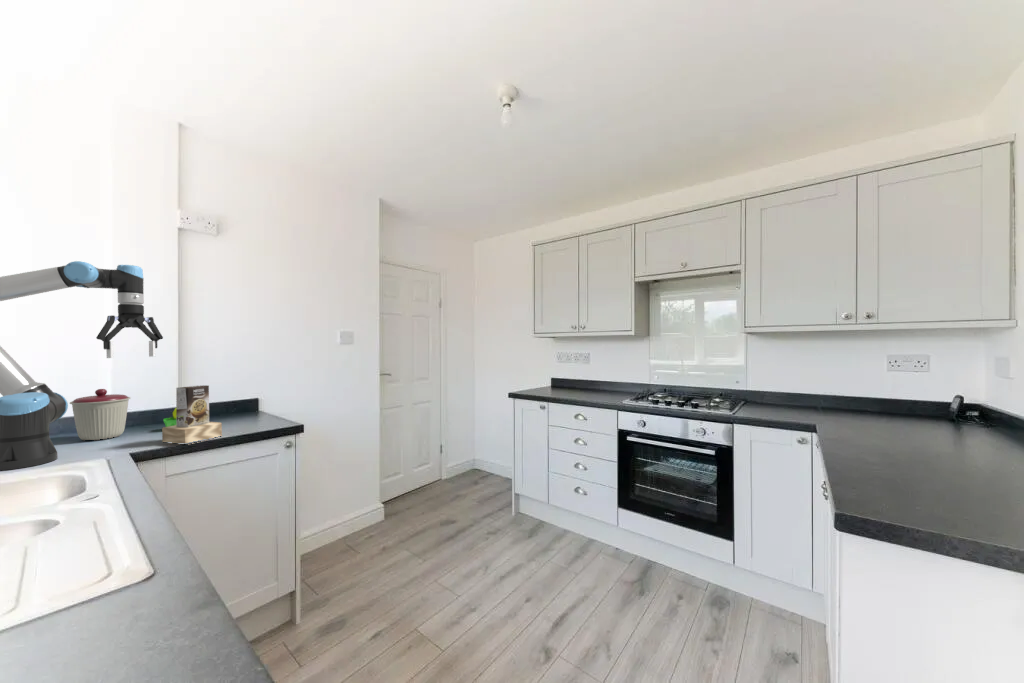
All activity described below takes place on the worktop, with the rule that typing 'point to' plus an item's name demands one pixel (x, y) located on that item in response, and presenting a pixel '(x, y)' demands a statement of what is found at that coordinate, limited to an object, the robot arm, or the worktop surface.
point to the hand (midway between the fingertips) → (131, 357)
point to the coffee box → (192, 406)
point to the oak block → (191, 432)
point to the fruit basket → (170, 420)
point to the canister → (100, 415)
